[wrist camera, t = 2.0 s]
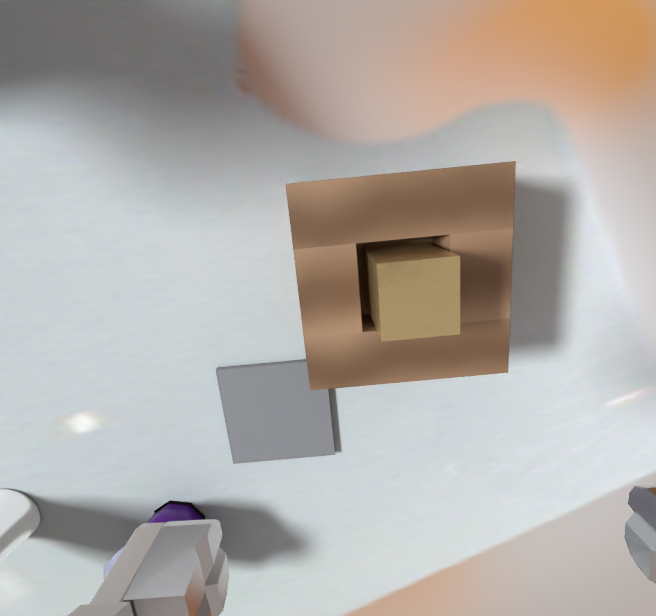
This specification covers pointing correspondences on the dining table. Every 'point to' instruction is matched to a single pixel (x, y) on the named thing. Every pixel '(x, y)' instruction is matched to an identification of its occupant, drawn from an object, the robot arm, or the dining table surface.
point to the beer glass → (16, 520)
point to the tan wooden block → (412, 290)
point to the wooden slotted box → (393, 228)
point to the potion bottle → (165, 514)
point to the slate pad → (274, 412)
